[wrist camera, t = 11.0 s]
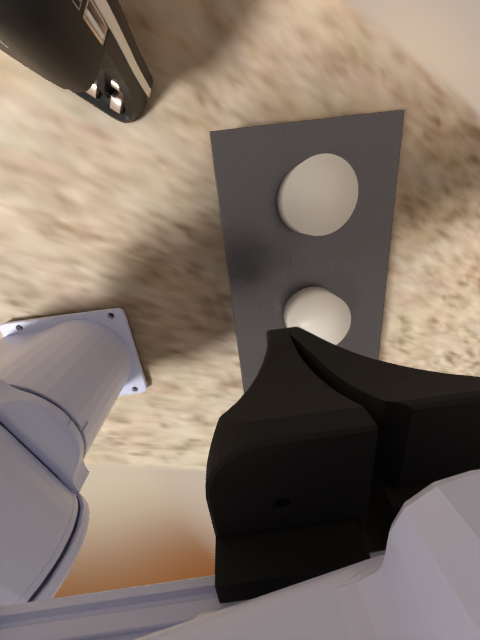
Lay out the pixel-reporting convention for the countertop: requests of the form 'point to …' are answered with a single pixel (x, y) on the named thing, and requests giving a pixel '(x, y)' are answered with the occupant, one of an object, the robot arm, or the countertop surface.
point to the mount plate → (301, 249)
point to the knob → (318, 195)
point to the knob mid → (318, 313)
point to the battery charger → (79, 50)
